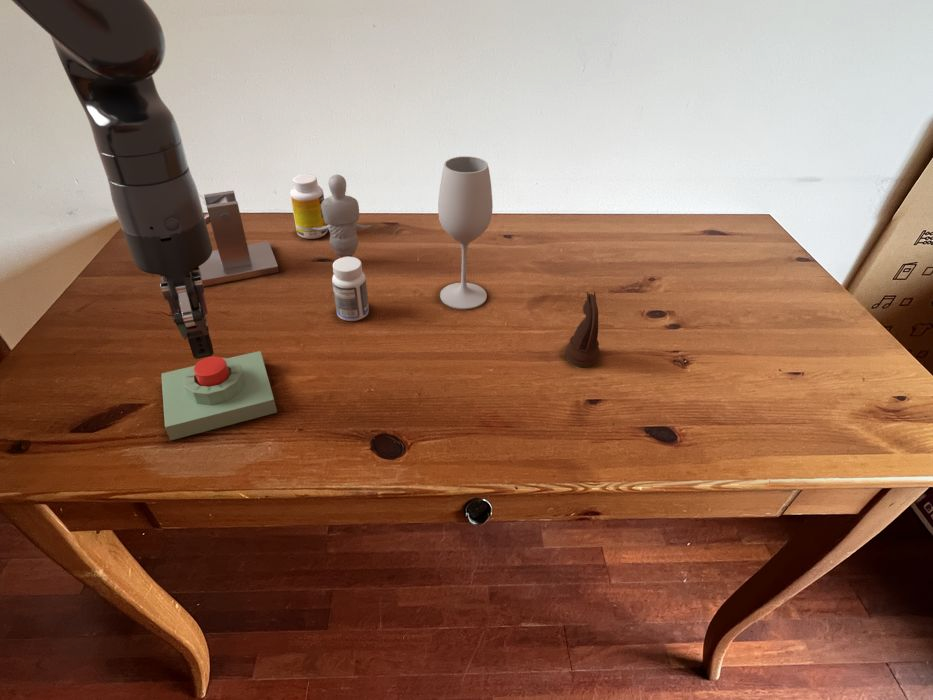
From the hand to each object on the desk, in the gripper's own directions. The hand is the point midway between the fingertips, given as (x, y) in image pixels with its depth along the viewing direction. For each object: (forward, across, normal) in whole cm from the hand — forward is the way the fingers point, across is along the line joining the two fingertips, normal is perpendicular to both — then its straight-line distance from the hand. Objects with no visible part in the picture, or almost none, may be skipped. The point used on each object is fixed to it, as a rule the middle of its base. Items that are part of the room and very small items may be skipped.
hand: (203, 353), depth 70 cm
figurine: (+7, -27, +23) cm, 36 cm away
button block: (+7, 0, 0) cm, 7 cm away
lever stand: (+7, -32, +6) cm, 33 cm away
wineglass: (+7, -10, +37) cm, 39 cm away
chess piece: (+7, +10, +46) cm, 48 cm away
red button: (+4, 0, 0) cm, 4 cm away
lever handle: (+1, -32, +2) cm, 32 cm away
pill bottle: (+7, -12, +20) cm, 25 cm away
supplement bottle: (+7, -39, +20) cm, 45 cm away
